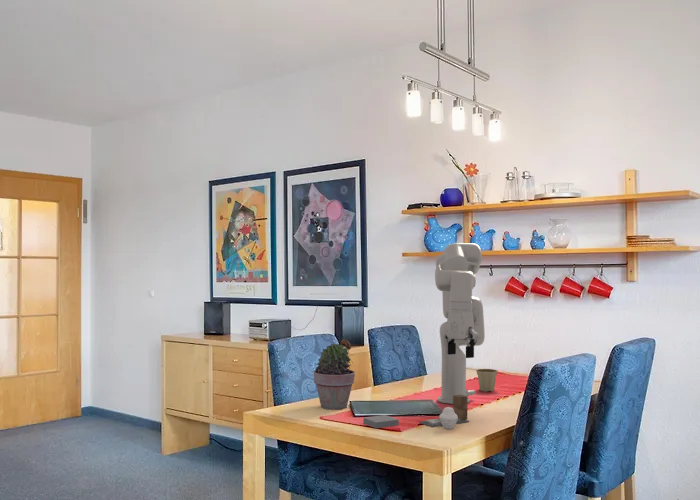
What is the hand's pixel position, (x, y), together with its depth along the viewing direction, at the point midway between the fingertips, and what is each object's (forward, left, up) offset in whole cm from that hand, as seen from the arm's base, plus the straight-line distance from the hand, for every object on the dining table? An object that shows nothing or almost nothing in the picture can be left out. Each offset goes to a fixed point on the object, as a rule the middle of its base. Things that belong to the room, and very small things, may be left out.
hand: (460, 355), depth 240 cm
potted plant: (+29, -39, -22) cm, 54 cm away
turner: (+6, 0, -22) cm, 23 cm away
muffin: (+10, +7, -22) cm, 26 cm away
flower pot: (-47, -39, -22) cm, 65 cm away
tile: (+23, -8, -21) cm, 33 cm away
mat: (+7, 0, -22) cm, 23 cm away
